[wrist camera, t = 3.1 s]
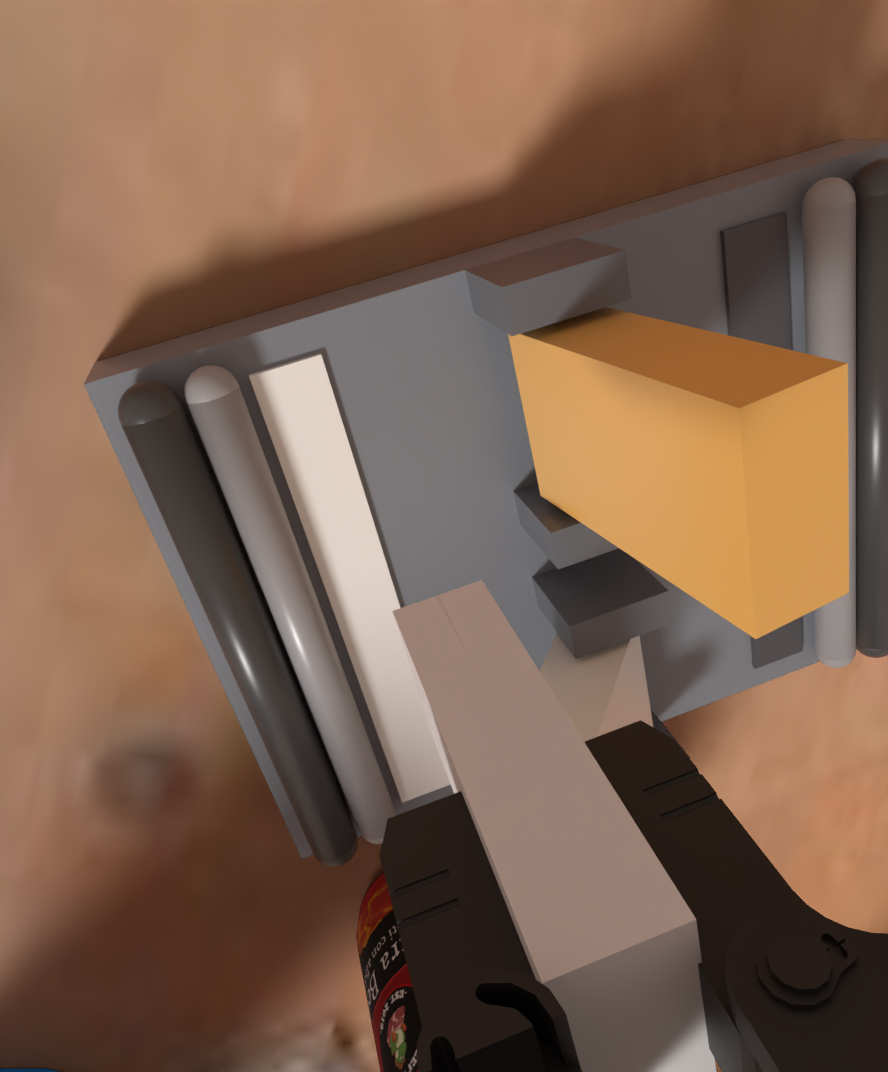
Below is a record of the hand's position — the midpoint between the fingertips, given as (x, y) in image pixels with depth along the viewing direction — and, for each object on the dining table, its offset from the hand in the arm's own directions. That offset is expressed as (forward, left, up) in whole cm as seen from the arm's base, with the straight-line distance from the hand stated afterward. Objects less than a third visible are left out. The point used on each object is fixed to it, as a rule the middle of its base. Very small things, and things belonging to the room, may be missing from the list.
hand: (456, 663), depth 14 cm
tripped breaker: (0, -6, -10) cm, 12 cm away
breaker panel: (-5, -6, -14) cm, 16 cm away
